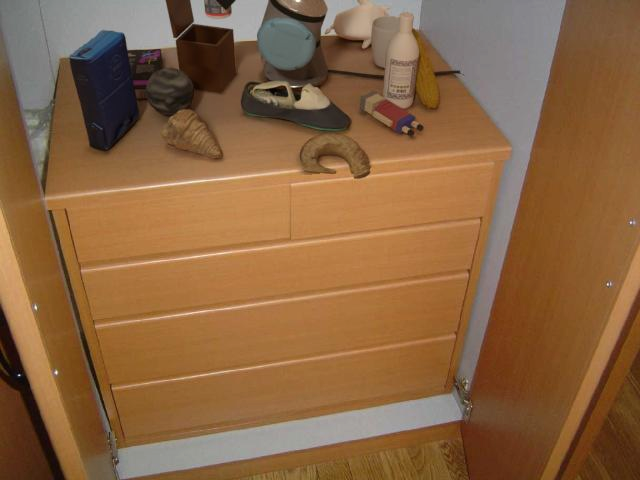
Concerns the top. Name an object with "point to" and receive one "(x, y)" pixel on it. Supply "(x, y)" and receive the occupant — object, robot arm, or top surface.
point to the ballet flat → (293, 105)
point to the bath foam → (401, 64)
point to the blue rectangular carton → (105, 88)
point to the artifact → (335, 154)
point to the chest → (207, 56)
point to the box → (143, 68)
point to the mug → (382, 37)
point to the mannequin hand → (358, 22)
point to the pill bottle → (216, 10)
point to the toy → (389, 113)
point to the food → (425, 77)
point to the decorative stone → (170, 91)
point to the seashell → (190, 134)
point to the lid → (179, 15)
